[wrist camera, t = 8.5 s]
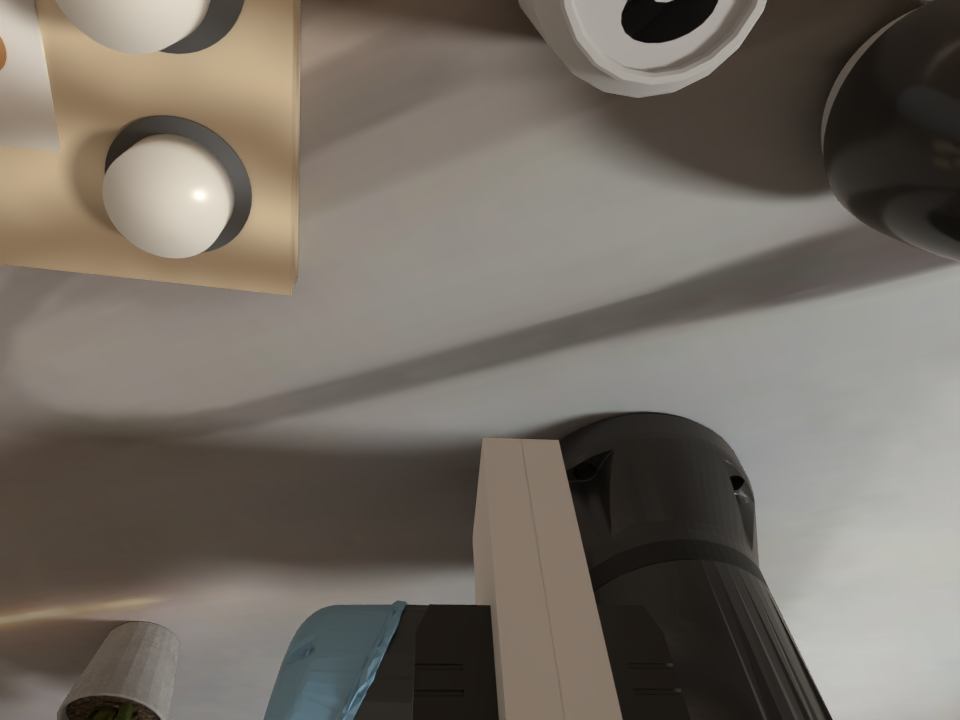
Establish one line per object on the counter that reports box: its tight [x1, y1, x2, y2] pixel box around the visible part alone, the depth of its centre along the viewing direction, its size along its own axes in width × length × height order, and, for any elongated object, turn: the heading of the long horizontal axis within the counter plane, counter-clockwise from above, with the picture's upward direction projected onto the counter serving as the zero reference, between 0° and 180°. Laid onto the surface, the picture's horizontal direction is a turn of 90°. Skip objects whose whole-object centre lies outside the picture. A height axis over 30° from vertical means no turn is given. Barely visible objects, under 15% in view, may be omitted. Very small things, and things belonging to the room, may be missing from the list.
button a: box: [102, 134, 235, 258], centre depth 31 cm, size 5×5×2 cm
